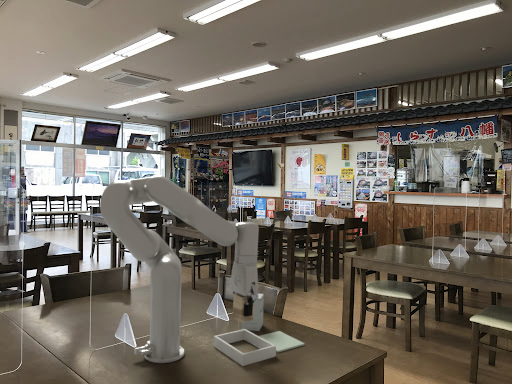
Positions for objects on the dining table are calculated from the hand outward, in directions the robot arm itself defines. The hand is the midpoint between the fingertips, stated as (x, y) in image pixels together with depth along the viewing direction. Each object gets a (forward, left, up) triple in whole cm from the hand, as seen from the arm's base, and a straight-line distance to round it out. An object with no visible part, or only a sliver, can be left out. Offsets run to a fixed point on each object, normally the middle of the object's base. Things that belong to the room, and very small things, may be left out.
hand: (243, 312), depth 133 cm
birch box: (0, 0, -2) cm, 2 cm away
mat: (+16, 0, -13) cm, 20 cm away
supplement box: (+16, +17, -13) cm, 27 cm away
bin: (+1, 0, -13) cm, 13 cm away
